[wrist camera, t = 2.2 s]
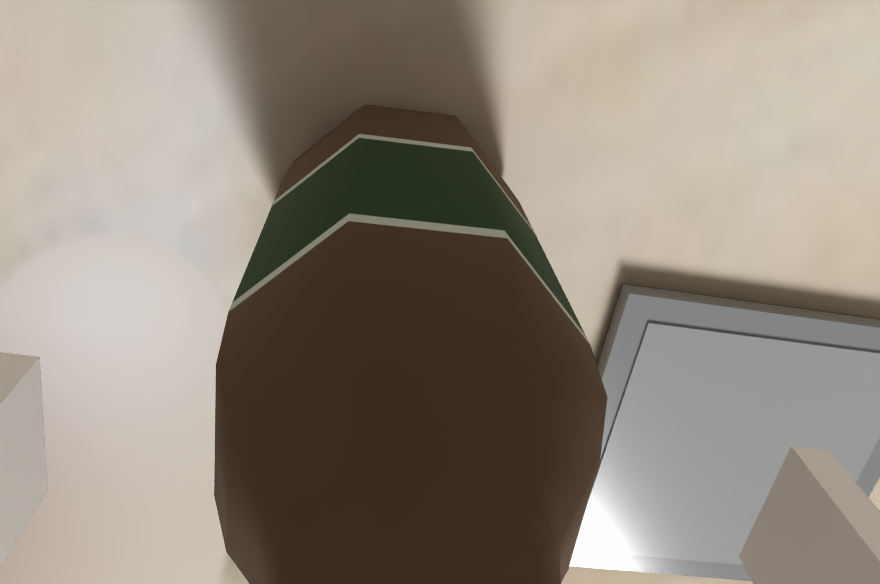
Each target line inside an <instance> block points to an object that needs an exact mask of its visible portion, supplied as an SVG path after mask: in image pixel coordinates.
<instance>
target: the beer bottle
mask: <svg viewBox="0 0 880 584" xmlns="http://www.w3.org/2000/svg"><path fill="white" fill-rule="evenodd" d="M607 398H608V397H607V394H606V391H605V388H604V385H603V382H602V379H601V376H600V373H599V370H598V367H597V364H596V361H595V358H594V355H593V352H592V349H591V346H590V344H589V342H588V340H587V338H586V336H585V334H584V332H583V330H582V327H581V325H580V323H579V321H578V319H577V317H576V315H575V313H574V311H573V309H572V307H571V305H570V303H569V301H568V299H567V297H566V295H565V293H564V291H563V289H562V287H561V285H560V283H559V281H558V279H557V277H556V275H555V273H554V271H553V269H552V267H551V265H550V263H549V261H548V259H547V257H546V255H545V253H544V251H543V249H542V247H541V245H540V243H539V241H538V239H537V237H536V235H535V233H534V231H533V229H532V227H531V225H530V223H529V221H528V219H527V217H526V215H525V213H524V211H523V209H522V207H521V205H520V203H519V201H518V200H517V198H516V197H515V195H514V194H513V193H512V191H511V190H510V188H509V187H508V185H507V184H506V183H505V181H504V180H503V179H502V177H501V176H500V175H499V173H498V172H497V171H496V169H495V168H494V167H493V165H492V164H491V163H490V161H489V160H488V159H487V157H486V156H485V155H484V153H483V152H482V151H481V149H480V148H479V147H478V145H477V144H476V143H475V141H474V140H473V139H472V137H471V136H470V135H469V133H468V132H467V131H466V129H465V128H464V126H463V125H462V124H461V122H460V121H459V120H458V118H457V117H456V116H448V115H440V114H432V113H425V112H417V111H409V110H401V109H393V108H385V107H378V106H370V105H364V106H362V107H361V108H360V109H359V110H357V111H356V112H355V113H354V114H352V115H351V116H350V117H349V118H347V119H346V120H345V121H344V122H342V123H341V124H340V125H339V126H337V127H336V128H335V129H334V130H332V131H331V132H330V133H329V134H327V135H326V136H325V137H324V138H322V139H321V140H320V141H318V142H317V143H316V144H315V145H313V146H312V147H311V148H310V149H308V150H307V151H306V152H305V153H303V154H302V155H301V156H300V157H298V158H297V159H296V160H295V161H294V162H293V164H292V165H291V167H290V168H289V170H288V171H287V173H286V174H285V176H284V178H283V181H282V183H281V186H280V188H279V190H278V193H277V195H276V198H275V200H274V203H273V205H272V208H271V210H270V212H269V215H268V217H267V220H266V222H265V225H264V227H263V229H262V232H261V234H260V237H259V239H258V242H257V244H256V246H255V249H254V251H253V254H252V256H251V259H250V261H249V263H248V266H247V268H246V271H245V273H244V276H243V278H242V280H241V283H240V285H239V288H238V290H237V293H236V295H235V297H234V300H233V302H232V305H231V307H230V310H229V312H228V316H227V321H226V325H225V329H224V333H223V338H222V342H221V346H220V350H219V354H218V359H217V363H216V409H215V487H214V490H215V491H214V496H215V501H216V505H217V510H218V515H219V519H220V524H221V528H222V533H223V537H224V543H225V547H226V552H227V553H228V554H229V556H230V557H231V559H232V560H233V561H234V563H235V564H236V565H237V567H238V568H239V570H240V571H241V572H242V574H243V575H244V576H245V578H246V579H247V581H248V582H249V583H250V584H561V582H562V580H563V578H564V576H565V575H566V573H567V571H568V569H569V565H570V562H571V558H572V555H573V552H574V548H575V545H576V541H577V538H578V534H579V531H580V527H581V524H582V521H583V517H584V514H585V510H586V507H587V503H588V500H589V496H590V493H591V490H592V486H593V483H594V479H595V476H596V472H597V469H598V465H599V462H600V457H601V449H602V440H603V432H604V423H605V415H606V406H607Z"/></svg>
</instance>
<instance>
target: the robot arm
mask: <svg viewBox="0 0 880 584" xmlns="http://www.w3.org/2000/svg"><path fill="white" fill-rule="evenodd" d="M42 405H43V403H42V387H41V371H40V357H35V356H26V355H18V354H9V353H1V352H0V566H1V565H2V563H3V561H4V560H5V558H6V556H7V555H8V553H9V552H10V550H11V548H12V547H13V545H14V543H15V542H16V540H17V538H18V537H19V535H20V534H21V532H22V531H23V529H24V527H25V526H26V524H27V522H28V521H29V519H30V518H31V516H32V514H33V513H34V511H35V510H36V508H37V506H38V505H39V503H40V501H41V500H42V498H43V497H44V495H45V493H46V492H47V490H48V485H47V468H46V452H45V436H44V421H43V406H42ZM739 558H740V560H741V561H742V563H743V565H744V567H745V569H746V571H747V572H748V574H749V576H750V578H751V580H752V581H753V583H754V584H880V511H879V509H878V508H877V507H876V506H875V505H874V503H873V502H872V501H871V500H870V499H869V497H868V496H867V495H866V494H865V493H864V491H863V490H862V489H861V488H860V487H859V485H858V484H857V483H856V482H855V481H854V479H853V478H852V477H851V476H850V475H849V473H848V472H847V471H846V470H845V469H844V467H843V466H842V465H841V464H840V463H839V461H838V460H837V459H836V458H835V457H834V455H833V454H832V453H831V452H830V451H829V450H821V449H812V448H804V447H795V446H791V448H790V450H789V452H788V454H787V456H786V458H785V460H784V462H783V464H782V467H781V469H780V471H779V473H778V475H777V477H776V479H775V481H774V483H773V486H772V488H771V490H770V492H769V494H768V496H767V498H766V500H765V502H764V505H763V507H762V509H761V511H760V513H759V515H758V517H757V519H756V521H755V524H754V526H753V528H752V530H751V532H750V534H749V536H748V538H747V540H746V543H745V545H744V547H743V549H742V551H741V553H740V555H739Z"/></svg>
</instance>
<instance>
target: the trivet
mask: <svg viewBox="0 0 880 584" xmlns="http://www.w3.org/2000/svg"><path fill="white" fill-rule="evenodd" d="M597 367H598V370H599V373H600V376H601V379H602V382H603V385H604V388H605V391H606V394H607V397H608V398H607V406H606V415H605V423H604V432H603V440H602V449H601V457H600V462H599V465H598V469H597V472H596V476H595V479H594V483H593V486H592V490H591V493H590V496H589V500H588V503H587V507H586V510H585V514H584V517H583V521H582V524H581V527H580V531H579V534H578V538H577V541H576V545H575V548H574V552H573V555H572V558H571V562H570V565H569V566H575V567H588V568H600V569H612V570H624V571H636V572H648V573H660V574H672V575H684V576H697V577H709V578H721V579H733V580H745V581H752V580H751V578H750V576H749V574H748V572H747V571H746V569H745V567H744V565H743V563H742V561H741V560H740V558H739V555H740V553H741V551H742V549H743V547H744V545H745V543H746V540H747V538H748V536H749V534H750V532H751V530H752V528H753V526H754V524H755V521H756V519H757V517H758V515H759V513H760V511H761V509H762V507H763V505H764V502H765V500H766V498H767V496H768V494H769V492H770V490H771V488H772V486H773V483H774V481H775V479H776V477H777V475H778V473H779V471H780V469H781V467H782V464H783V462H784V460H785V458H786V456H787V454H788V452H789V450H790V448H791V446H795V447H804V448H812V449H821V450H829V451H830V452H831V453H832V454H833V455H834V457H835V458H836V459H837V460H838V461H839V463H840V464H841V465H842V466H843V467H844V469H845V470H846V471H847V472H848V473H849V475H850V476H851V477H852V478H853V479H854V481H855V482H856V483H857V484H858V485H859V487H860V488H861V489H862V490H863V491H864V493H865V494H866V495H867V496H868V497H869V495H870V494H871V492H872V490H873V488H874V486H875V484H876V483H877V481H878V479H879V477H880V320H879V319H872V318H865V317H858V316H850V315H843V314H836V313H829V312H822V311H814V310H807V309H800V308H793V307H786V306H778V305H771V304H764V303H757V302H750V301H742V300H735V299H728V298H721V297H714V296H706V295H699V294H692V293H685V292H678V291H670V290H663V289H656V288H649V287H642V286H634V285H627V284H623V285H622V288H621V291H620V295H619V298H618V301H617V304H616V307H615V310H614V314H613V317H612V320H611V323H610V326H609V330H608V333H607V336H606V339H605V342H604V345H603V349H602V352H601V355H600V358H599V361H598V365H597Z"/></svg>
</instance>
